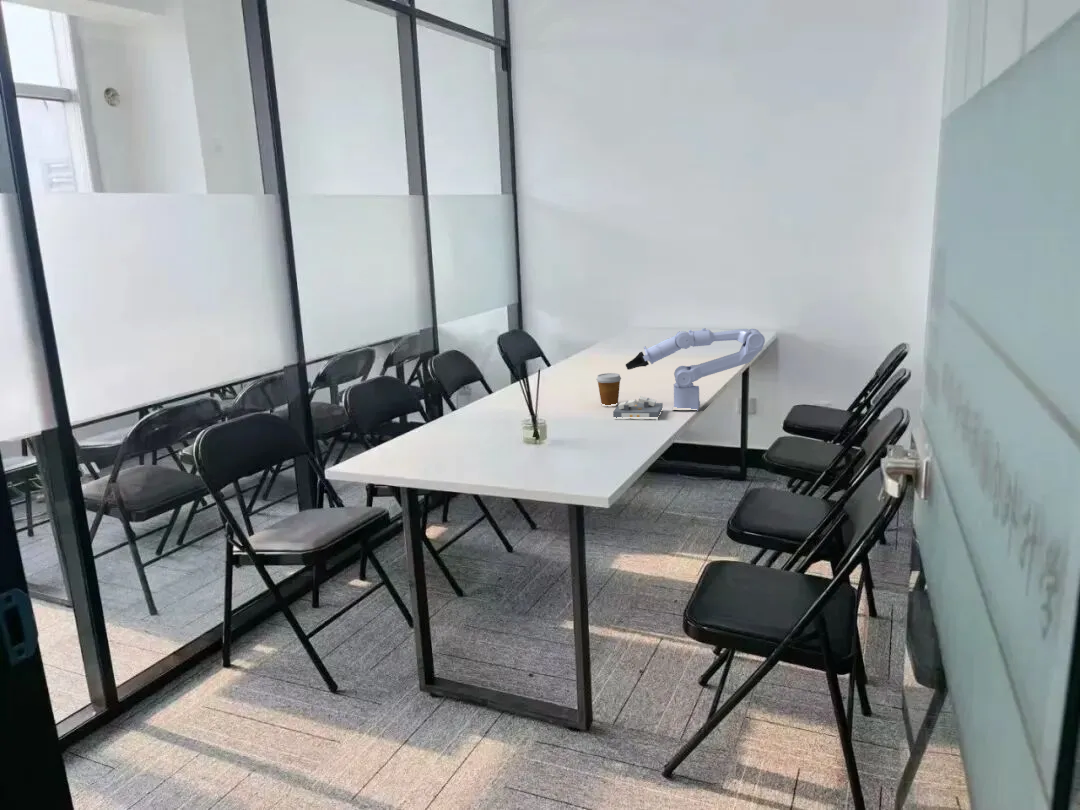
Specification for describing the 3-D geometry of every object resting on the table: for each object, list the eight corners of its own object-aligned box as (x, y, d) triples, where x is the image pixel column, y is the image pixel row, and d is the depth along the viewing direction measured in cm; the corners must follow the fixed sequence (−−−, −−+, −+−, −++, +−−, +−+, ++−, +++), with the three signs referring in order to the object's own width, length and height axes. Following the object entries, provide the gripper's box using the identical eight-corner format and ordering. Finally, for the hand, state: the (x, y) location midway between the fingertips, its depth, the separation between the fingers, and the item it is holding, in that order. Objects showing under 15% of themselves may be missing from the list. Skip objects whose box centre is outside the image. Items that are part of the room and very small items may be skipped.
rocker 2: (655, 404, 291) (656, 399, 290) (654, 406, 287) (655, 402, 286) (639, 399, 292) (640, 395, 291) (638, 402, 288) (639, 398, 288)
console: (662, 410, 293) (662, 397, 292) (657, 420, 280) (657, 406, 279) (620, 410, 297) (619, 397, 296) (613, 419, 284) (612, 406, 283)
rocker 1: (636, 402, 287) (635, 398, 287) (635, 405, 284) (633, 401, 283) (621, 406, 289) (619, 402, 289) (619, 409, 286) (617, 405, 285)
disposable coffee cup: (595, 408, 304) (593, 377, 301) (600, 402, 312) (599, 372, 310) (619, 408, 301) (618, 377, 298) (624, 402, 309) (623, 372, 307)
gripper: (657, 340, 297) (624, 356, 300) (655, 341, 283) (620, 357, 286) (665, 357, 297) (632, 373, 300) (663, 358, 283) (629, 375, 286)
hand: (627, 366), depth 293 cm, fingers open, 7 cm apart
